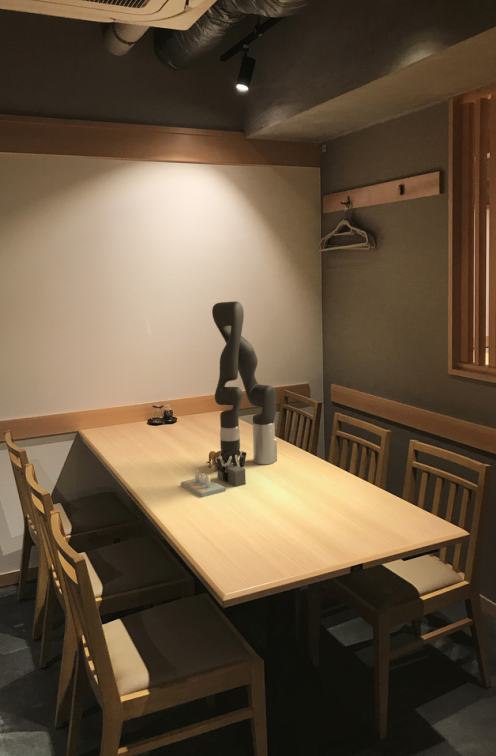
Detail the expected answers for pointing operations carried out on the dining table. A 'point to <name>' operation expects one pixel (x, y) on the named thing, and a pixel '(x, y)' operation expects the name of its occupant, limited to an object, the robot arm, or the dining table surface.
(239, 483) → the block
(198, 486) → the board
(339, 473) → the dining table surface
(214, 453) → the lion figurine
